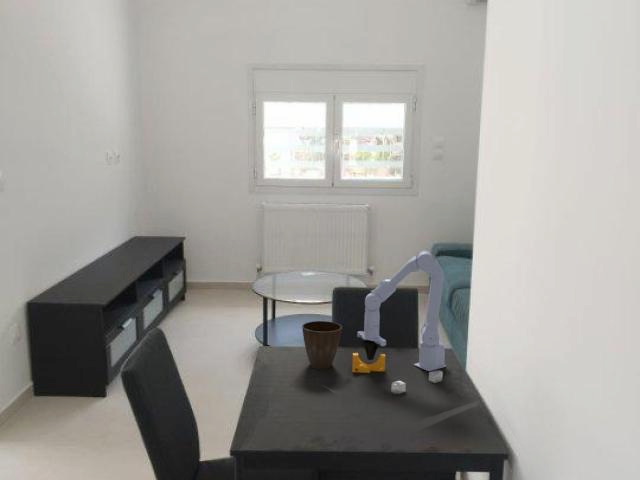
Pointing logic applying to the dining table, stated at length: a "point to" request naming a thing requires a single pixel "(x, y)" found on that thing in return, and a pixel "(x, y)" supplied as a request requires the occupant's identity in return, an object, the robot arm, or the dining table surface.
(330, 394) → the dining table surface
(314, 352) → the plant pot
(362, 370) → the pipe clamp
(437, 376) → the chain ends
